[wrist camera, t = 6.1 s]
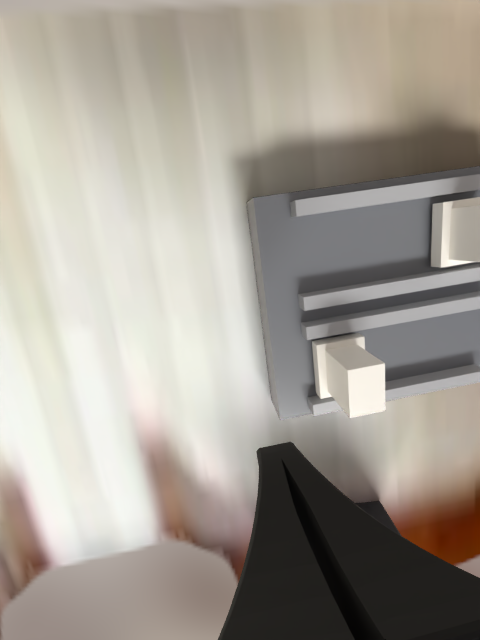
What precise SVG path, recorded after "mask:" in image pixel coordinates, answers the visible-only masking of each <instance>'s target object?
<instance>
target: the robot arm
mask: <svg viewBox="0 0 480 640" xmlns="http://www.w3.org/2000/svg"><path fill="white" fill-rule="evenodd" d="M257 458H258V464H259V484H258V497H257V505H256V512H255V518H254V524H253V529H252V534H251V539H250V543H249V548H248V551H247V555H246V559H245V563H244V567H243V570H242V574H241V577H240V580H239V583H238V586H237V589H236V592H235V595H234V598H233V601H232V604H231V607H230V610H229V613H228V616H227V618H226V621H225V623H224V626H223V628H222V631H221V633H220V636H219V638H218V640H480V578H478V577H476V576H474V575H472V574H470V573H468V572H466V571H464V570H462V569H459V568H458V567H456V566H453V565H451V564H449V563H447V562H445V561H443V560H442V559H440V558H438V557H436V556H434V555H432V554H431V553H429V552H427V551H425V550H423V549H422V548H420V547H418V546H417V545H415V544H413V543H412V542H410V541H408V540H407V539H405V538H404V537H402V536H400V535H399V534H397V533H395V532H394V531H392V530H391V529H389V528H388V527H386V526H385V525H383V524H382V523H380V522H379V521H378V520H376V519H375V518H373V517H372V516H371V515H369V514H368V513H367V512H365V511H364V510H363V509H361V508H360V507H359V506H357V505H356V504H355V503H354V502H352V501H351V500H350V499H349V498H347V497H346V496H345V495H344V494H343V493H342V492H340V491H339V490H338V489H337V488H336V487H335V486H334V485H333V484H331V483H330V482H329V481H328V480H327V479H326V478H325V477H324V476H323V475H322V474H321V473H320V472H319V471H318V470H317V469H316V468H315V467H314V466H313V465H312V464H311V463H310V462H309V461H308V460H307V459H306V458H305V457H304V456H303V454H302V453H301V452H300V451H299V450H298V449H297V448H296V446H295V445H294V444H293V443H291V442H287V443H282V444H277V445H273V446H268V447H263V448H259V449H258V450H257Z"/></svg>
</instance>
